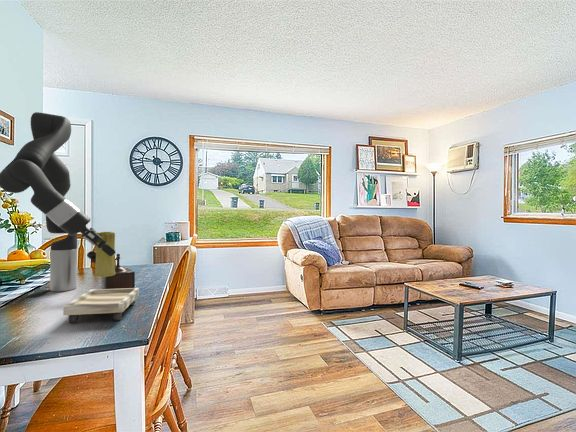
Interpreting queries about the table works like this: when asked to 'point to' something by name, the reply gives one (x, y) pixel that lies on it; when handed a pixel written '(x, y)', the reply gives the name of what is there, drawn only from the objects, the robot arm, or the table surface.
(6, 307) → the table surface
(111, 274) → the vase
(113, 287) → the coffee grinder
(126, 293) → the caster dolly
